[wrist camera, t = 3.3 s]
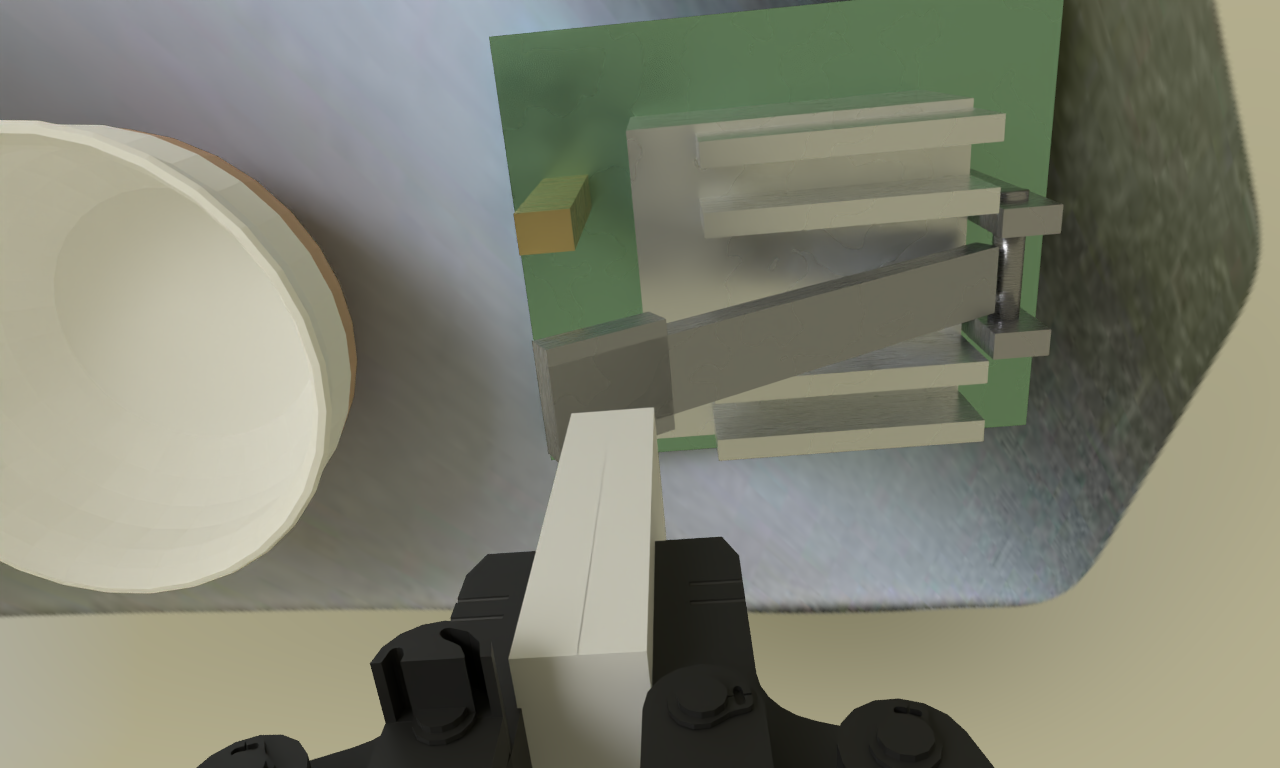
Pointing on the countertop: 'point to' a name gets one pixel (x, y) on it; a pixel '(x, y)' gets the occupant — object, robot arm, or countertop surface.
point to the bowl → (156, 360)
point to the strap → (756, 339)
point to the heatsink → (793, 194)
